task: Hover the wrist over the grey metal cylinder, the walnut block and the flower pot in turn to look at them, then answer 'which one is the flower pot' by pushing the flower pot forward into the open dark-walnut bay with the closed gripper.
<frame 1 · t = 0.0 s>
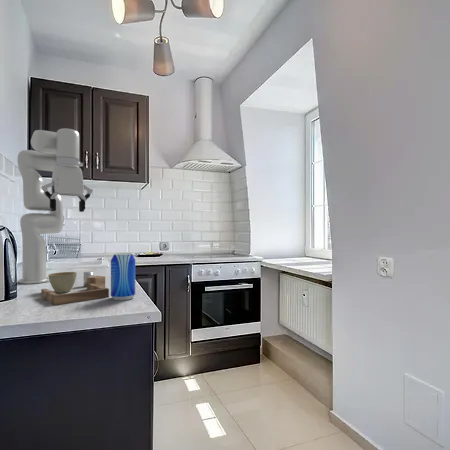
hand: (67, 211, 120), 31 cm above the worktop, tool pointing down, fingers open, 9 cm apart
bay: (74, 296, 120), on the worktop
beer can: (123, 298, 118), on the worktop
flower pot: (62, 292, 130), on the worktop
grey metal cylinder: (88, 286, 141), on the worktop
walnut block: (96, 289, 136), on the worktop
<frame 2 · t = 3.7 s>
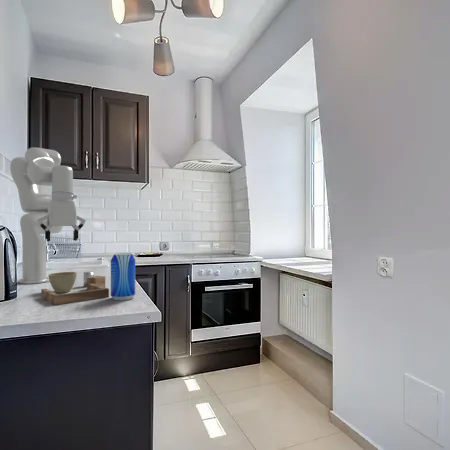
hand: (62, 240, 130), 20 cm above the worktop, tool pointing down, fingers open, 9 cm apart
nothing on the worktop moved.
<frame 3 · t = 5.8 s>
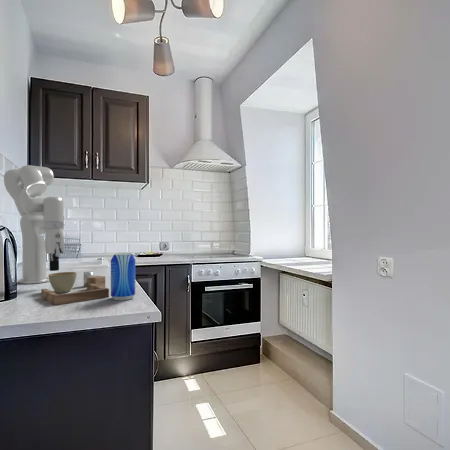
hand: (54, 270, 138), 7 cm above the worktop, tool pointing down, fingers closed
nothing on the worktop moved.
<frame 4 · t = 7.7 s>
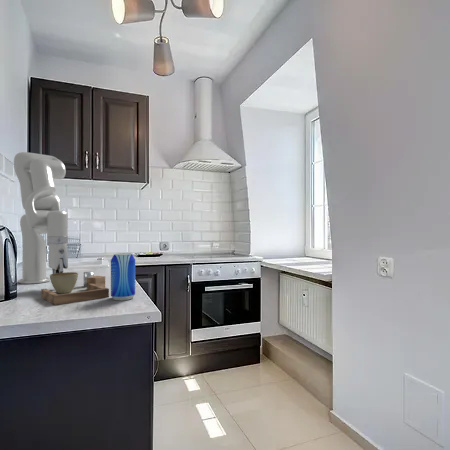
hand: (57, 286, 134), 1 cm above the worktop, tool pointing down, fingers closed
flower pot: (64, 292, 128), on the worktop, touching gripper
everything else where it was.
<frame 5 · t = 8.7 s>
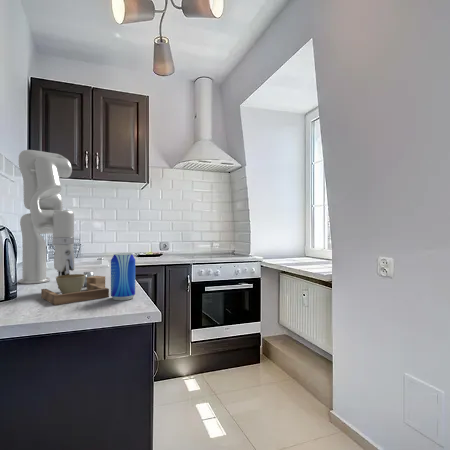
hand: (63, 288, 129), 1 cm above the worktop, tool pointing down, fingers closed
flower pot: (70, 295, 123), on the worktop, touching gripper
everything else where it was.
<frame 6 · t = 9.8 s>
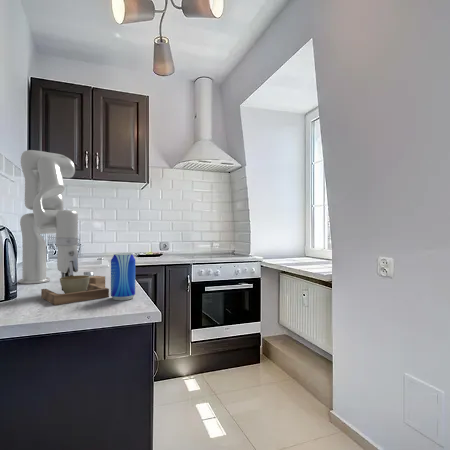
hand: (66, 290, 126), 1 cm above the worktop, tool pointing down, fingers closed
flower pot: (74, 297, 120), on the worktop, touching gripper
everything else where it was.
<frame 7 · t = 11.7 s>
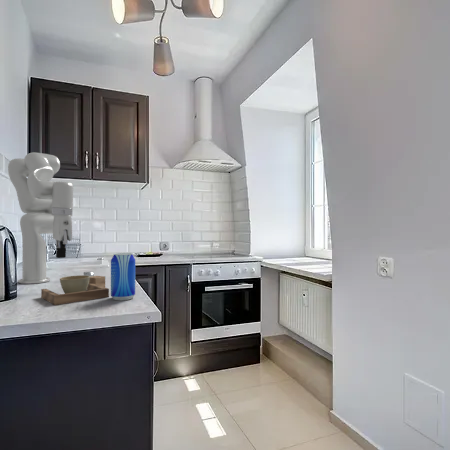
hand: (60, 257, 134), 13 cm above the worktop, tool pointing down, fingers closed
flower pot: (75, 297, 120), on the worktop
everything else where it was.
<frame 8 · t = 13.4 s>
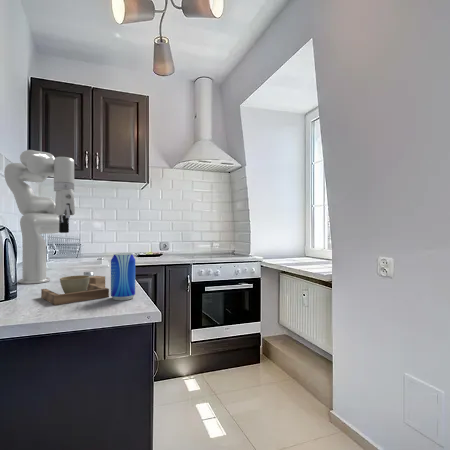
hand: (64, 232, 135), 23 cm above the worktop, tool pointing down, fingers closed
nothing on the worktop moved.
at the end: flower pot inside the target area on the bay (0.3 cm from its centre), point 0.0 cm above the bay's base; flower pot tilted 0°; walnut block moved 0.1 cm from its start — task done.
